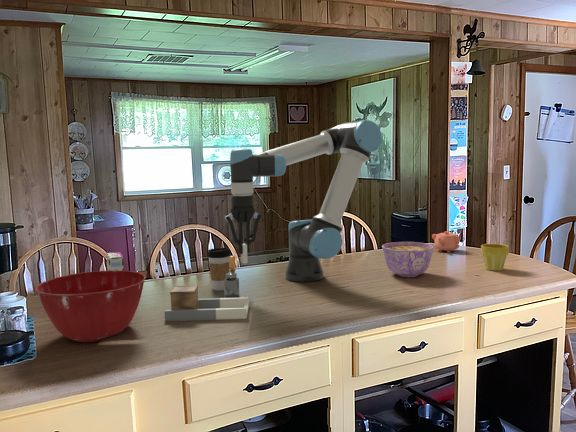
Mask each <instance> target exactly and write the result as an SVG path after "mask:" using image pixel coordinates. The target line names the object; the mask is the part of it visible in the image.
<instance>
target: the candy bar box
mask: <svg viewBox="0 0 576 432" xmlns="http://www.w3.org/2000/svg"><path fill="white" fill-rule="evenodd" d="M124 266H125V265H124V256H123V254H122V253H121V251H117V252H116V251H115V252H107V253H106V271H112V270H118V271H125V267H124Z"/></svg>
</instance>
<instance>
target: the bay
mask: <svg viewBox="0 0 576 432" xmlns="http://www.w3.org/2000/svg"><path fill="white" fill-rule="evenodd" d="M198 303H199V309H183V310H171V309H164V321H165V322H182V321H183V322H185V321H186V322H189V321H216V320H219V321H220V320H245V319H246V320H247V318H248V313H249V307H250V304H249V303H250V300H249V296H246V297H241V298H220V297H219V298H218V297H217V298H215V297H213V298H198Z"/></svg>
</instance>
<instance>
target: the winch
mask: <svg viewBox="0 0 576 432" xmlns="http://www.w3.org/2000/svg"><path fill="white" fill-rule="evenodd" d="M223 294H224V296H219V298H241V297H247V295H240V279H239V278H238V277H237V279H234V280H227V279H224V290H223Z"/></svg>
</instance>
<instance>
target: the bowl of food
mask: <svg viewBox="0 0 576 432" xmlns="http://www.w3.org/2000/svg"><path fill="white" fill-rule="evenodd" d="M381 248H382V253H383V256H384V261H385V264H386V265H385V266H386V267H387V268H388V270H389V271H390V272H392V273H393V274H396V275H397V276H398V277H402V278H415V277H417V276H419V275H421V274H423V273H425V272H426V271H427V270H428V268H429V266H430V263H431V260H432V255H433V252H434V249H435V246H433V245H432V244H430V243H424V242H417V241H416V242H415V241H395V242H388V243H384V244H382V245H381Z"/></svg>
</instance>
